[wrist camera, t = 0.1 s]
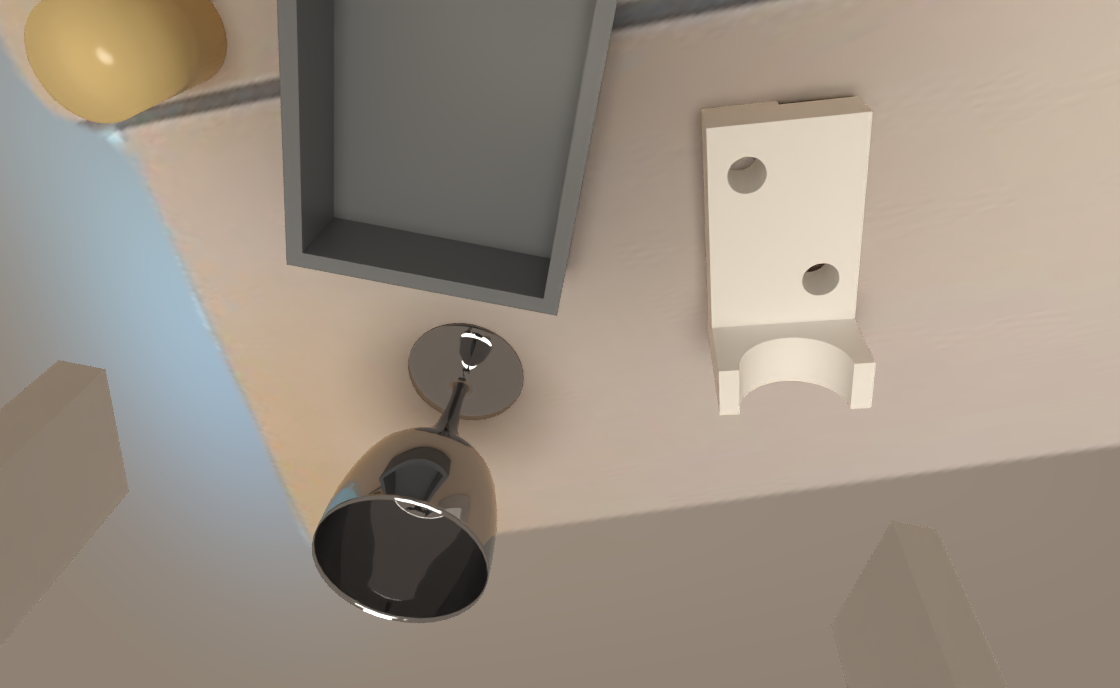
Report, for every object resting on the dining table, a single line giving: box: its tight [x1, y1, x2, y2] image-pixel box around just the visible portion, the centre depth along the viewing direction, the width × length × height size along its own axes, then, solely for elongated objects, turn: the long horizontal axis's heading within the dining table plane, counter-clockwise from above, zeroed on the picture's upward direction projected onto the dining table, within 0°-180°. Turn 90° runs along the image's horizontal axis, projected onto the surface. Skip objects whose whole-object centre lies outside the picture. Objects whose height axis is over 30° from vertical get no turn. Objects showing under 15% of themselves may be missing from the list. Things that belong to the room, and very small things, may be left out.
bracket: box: [701, 96, 876, 415], centre depth 36 cm, size 13×7×8 cm, turn 8°
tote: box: [277, 0, 617, 316], centre depth 35 cm, size 18×14×5 cm
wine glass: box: [312, 323, 524, 623], centre depth 40 cm, size 8×8×15 cm
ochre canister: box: [24, 0, 227, 123], centre depth 34 cm, size 5×5×7 cm
